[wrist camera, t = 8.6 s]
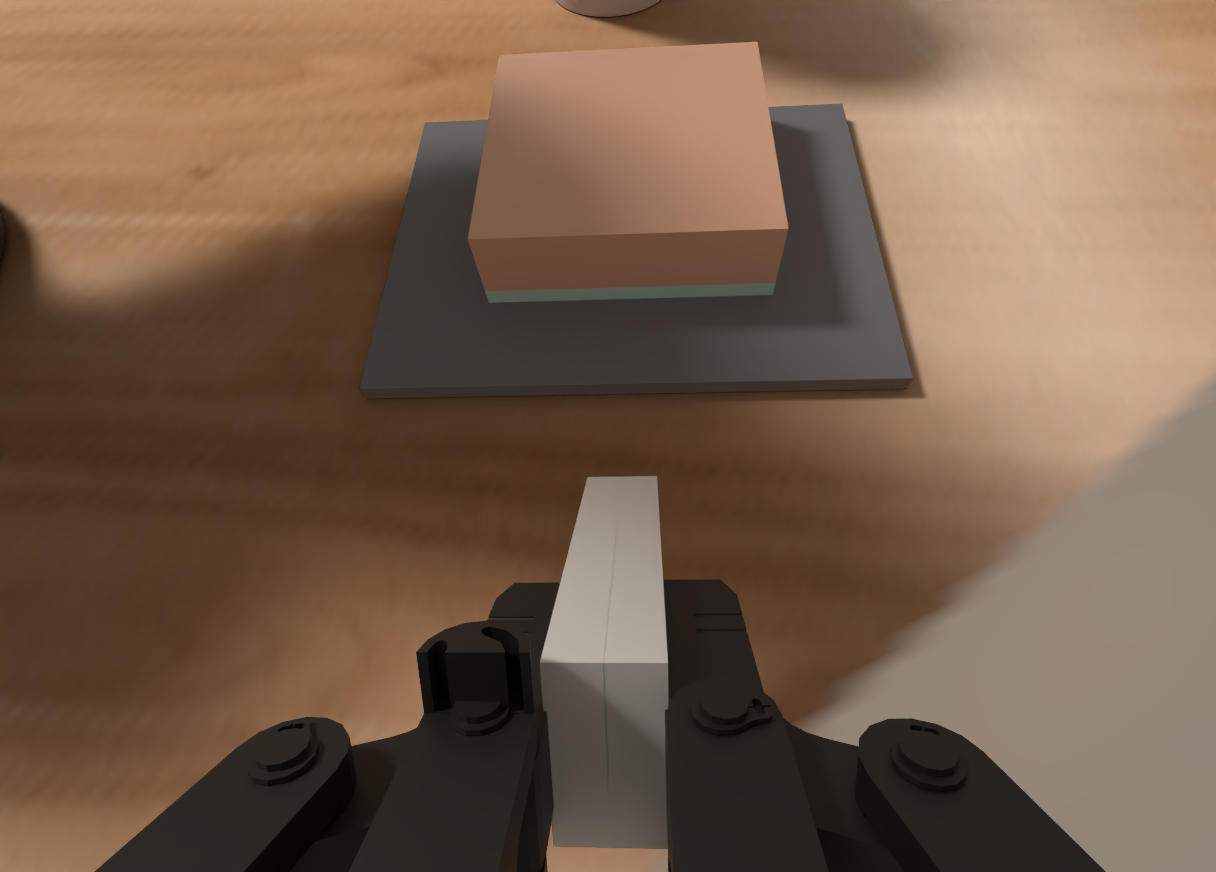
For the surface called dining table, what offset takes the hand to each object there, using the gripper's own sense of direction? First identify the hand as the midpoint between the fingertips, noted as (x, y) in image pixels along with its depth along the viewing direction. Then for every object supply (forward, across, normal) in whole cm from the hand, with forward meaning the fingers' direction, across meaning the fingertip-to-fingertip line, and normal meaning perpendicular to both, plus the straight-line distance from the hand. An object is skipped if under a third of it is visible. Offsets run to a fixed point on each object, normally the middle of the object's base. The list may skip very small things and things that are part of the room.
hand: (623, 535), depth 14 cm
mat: (+13, 0, +6) cm, 14 cm away
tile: (+9, 0, +6) cm, 11 cm away
